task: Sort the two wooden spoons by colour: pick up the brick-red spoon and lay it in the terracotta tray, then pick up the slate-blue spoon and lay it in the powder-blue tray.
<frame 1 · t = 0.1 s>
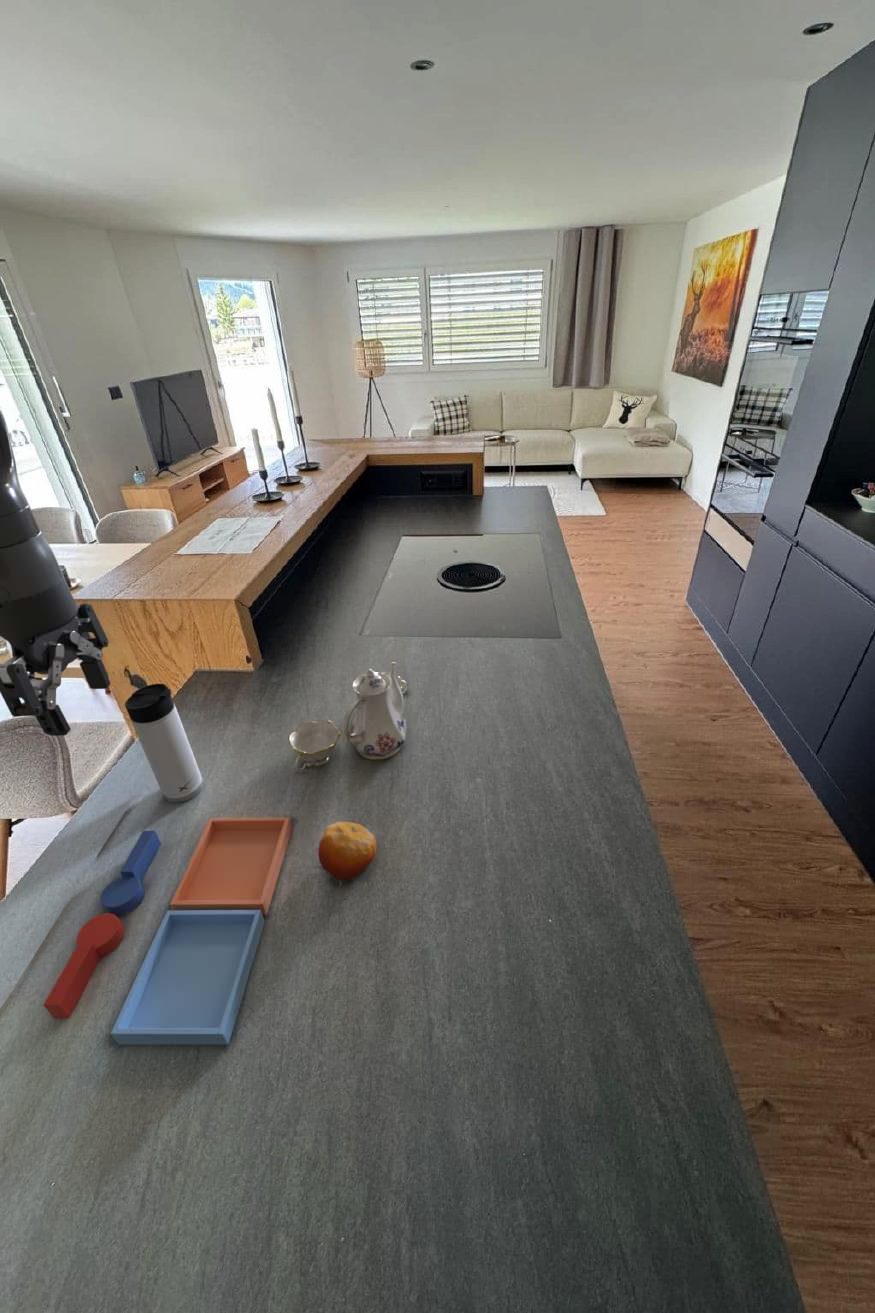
hand: (81, 709, 64), 29 cm above the counter, tool pointing down, fingers open, 8 cm apart
red spoon: (90, 965, 68), on the counter
blue tray: (198, 977, 66), on the counter
travel mug: (185, 790, 92), on the counter
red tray: (238, 869, 79), on the counter
fruit: (350, 865, 79), on the counter
chinaware: (367, 738, 101), on the counter
blue spoon: (136, 879, 78), on the counter
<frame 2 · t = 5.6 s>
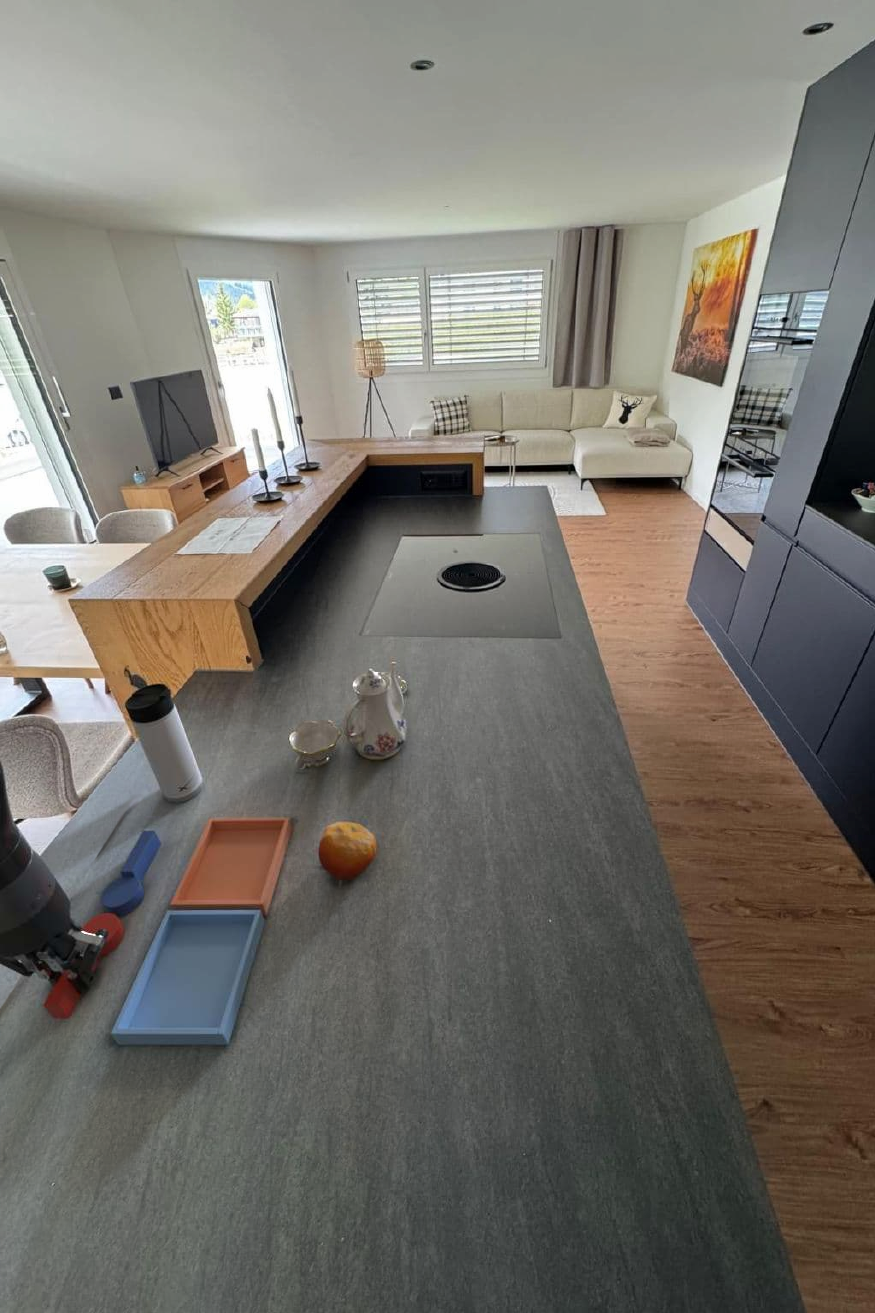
hand: (77, 985, 66), 0 cm above the counter, tool pointing down, fingers closed on red spoon
red spoon: (90, 965, 68), on the counter, touching gripper
everything else where it was.
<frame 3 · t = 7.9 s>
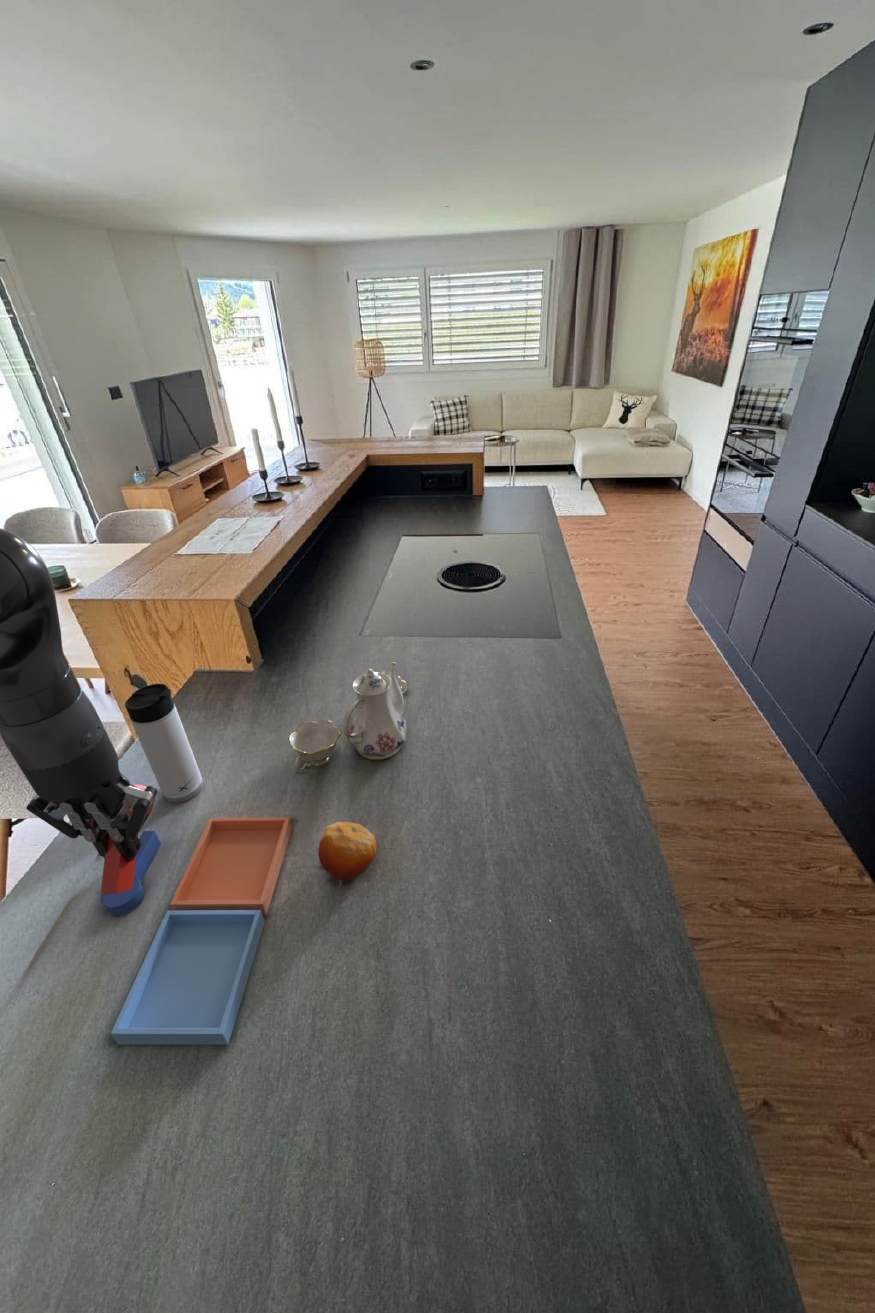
hand: (123, 855, 63), 15 cm above the counter, tool pointing down, fingers closed on red spoon
red spoon: (131, 833, 64), point 16 cm above the counter, tilted 44°, touching gripper
everything else where it was.
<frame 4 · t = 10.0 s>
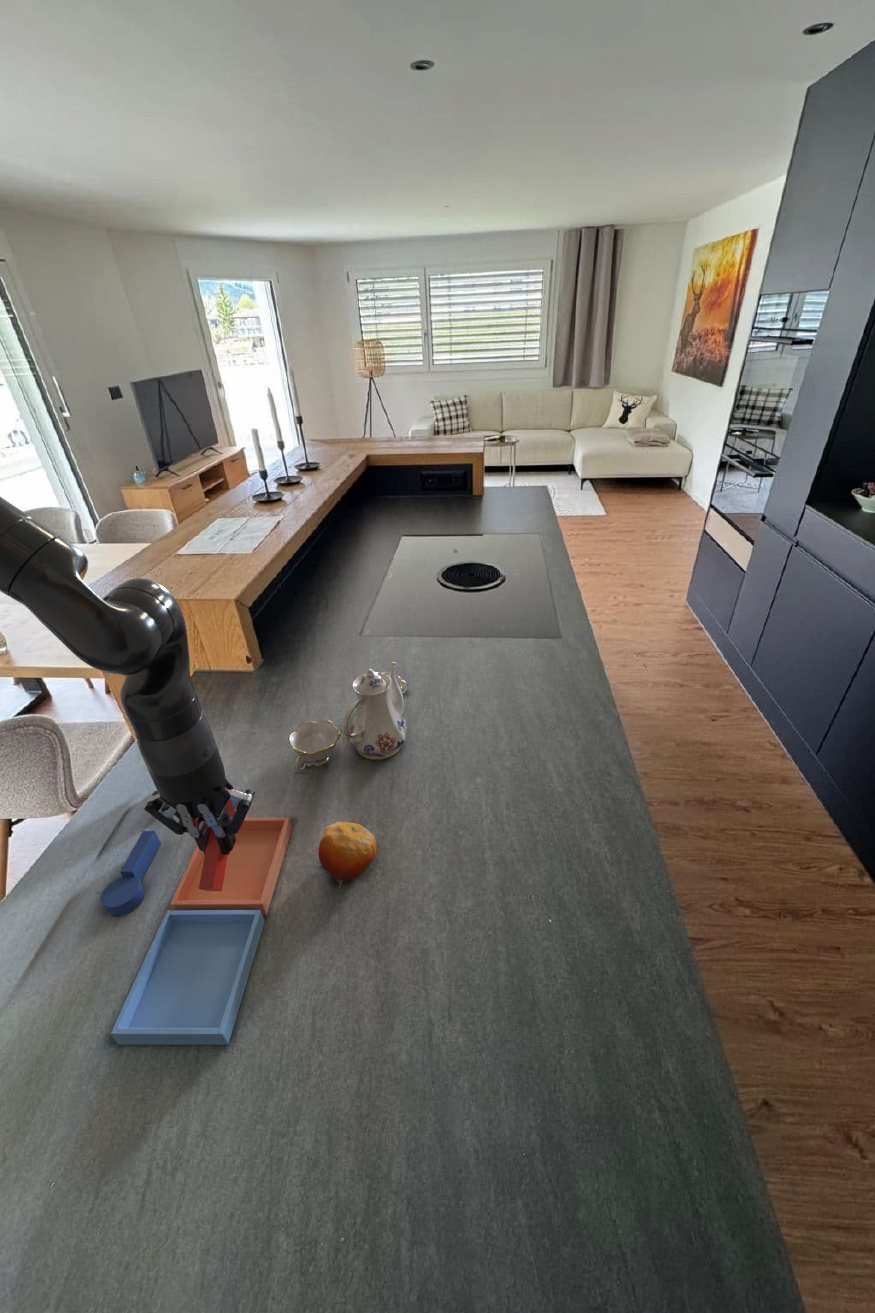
hand: (219, 849, 73), 7 cm above the counter, tool pointing down, fingers closed on red spoon
red spoon: (223, 842, 74), point 7 cm above the counter, tilted 29°, touching gripper
everything else where it was.
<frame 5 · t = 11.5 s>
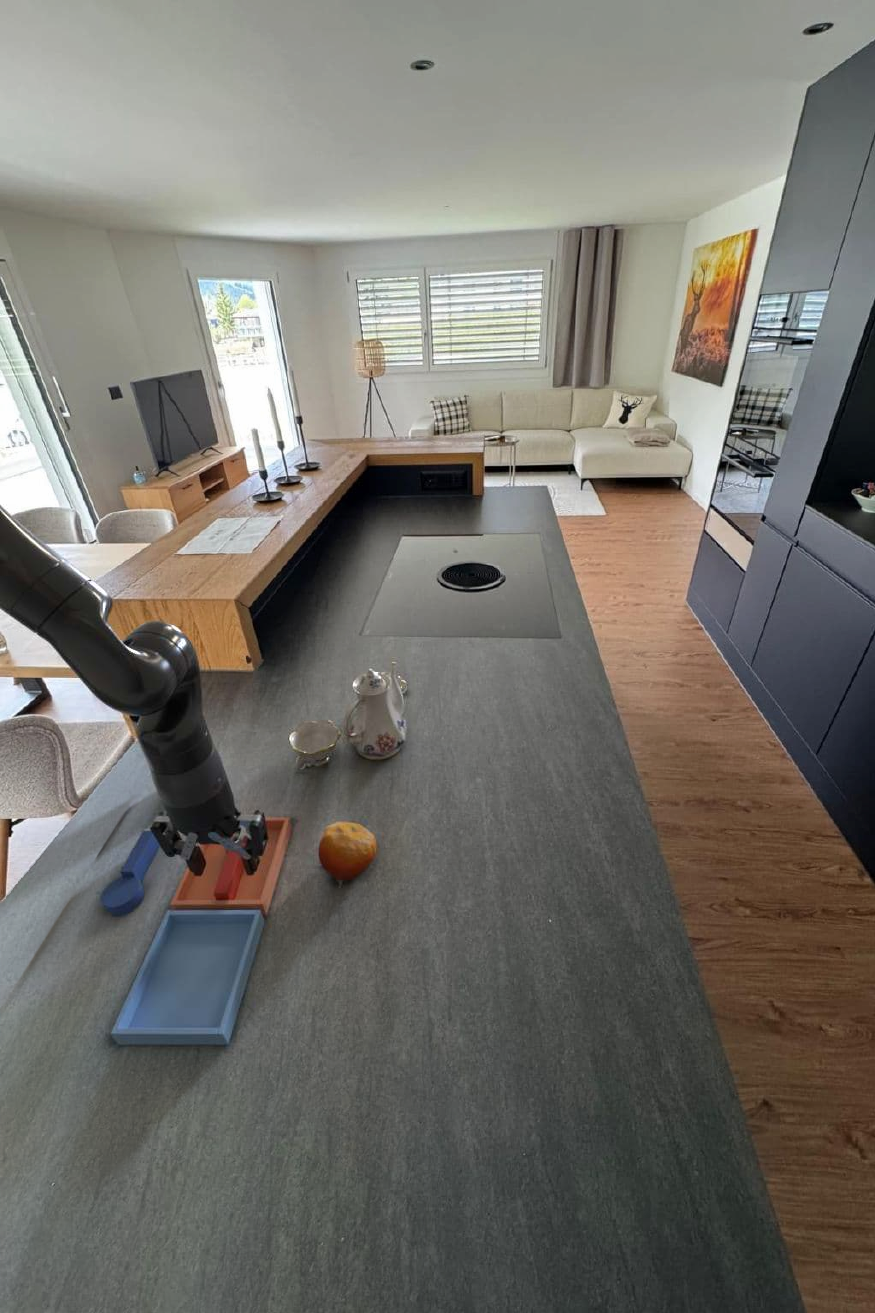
hand: (226, 870, 75), 3 cm above the counter, tool pointing down, fingers open, 6 cm apart
red spoon: (238, 867, 78), resting on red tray
everything else where it was.
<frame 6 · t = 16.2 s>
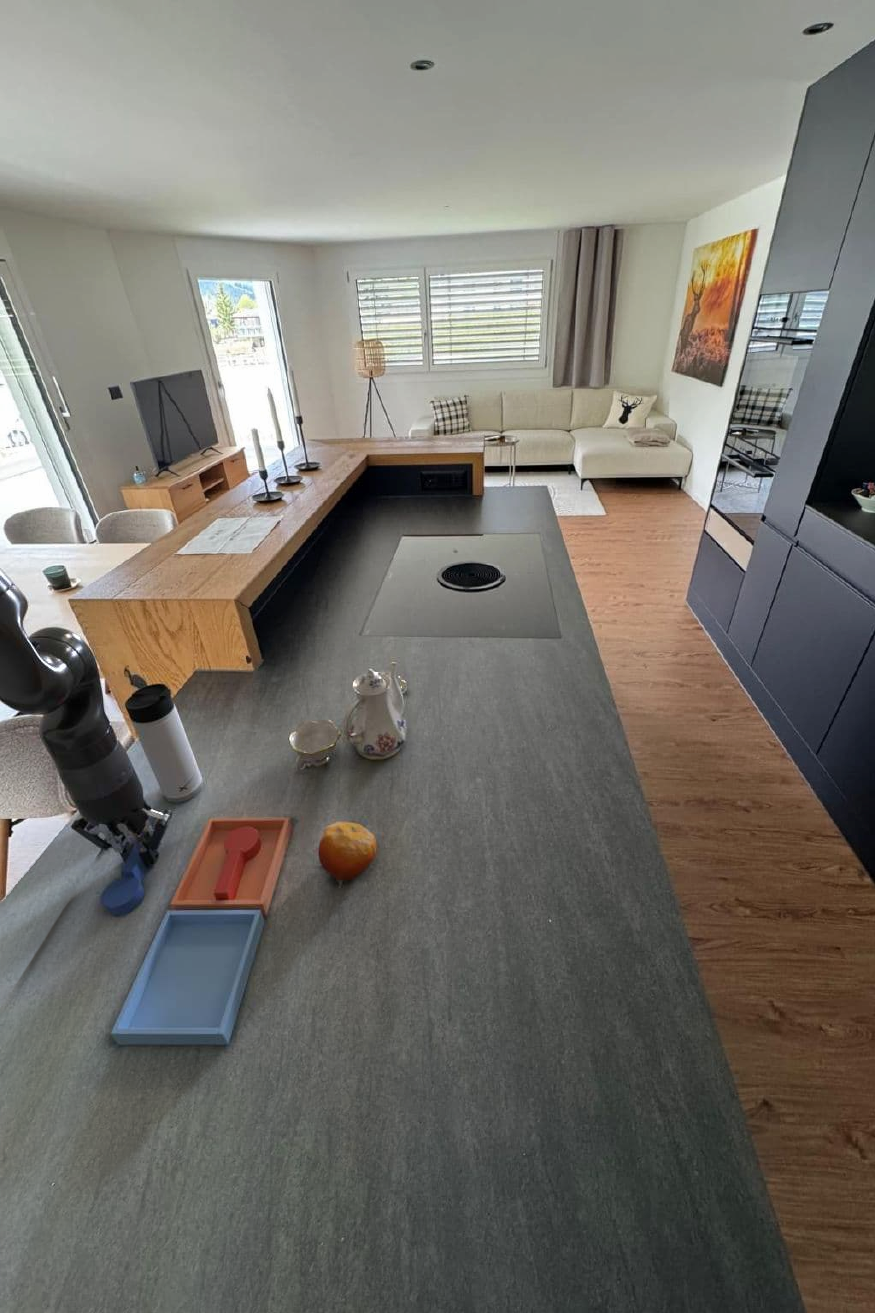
hand: (144, 862, 80), 0 cm above the counter, tool pointing down, fingers closed on blue spoon, 2 cm apart
blue spoon: (136, 879, 78), on the counter, touching gripper
everything else where it was.
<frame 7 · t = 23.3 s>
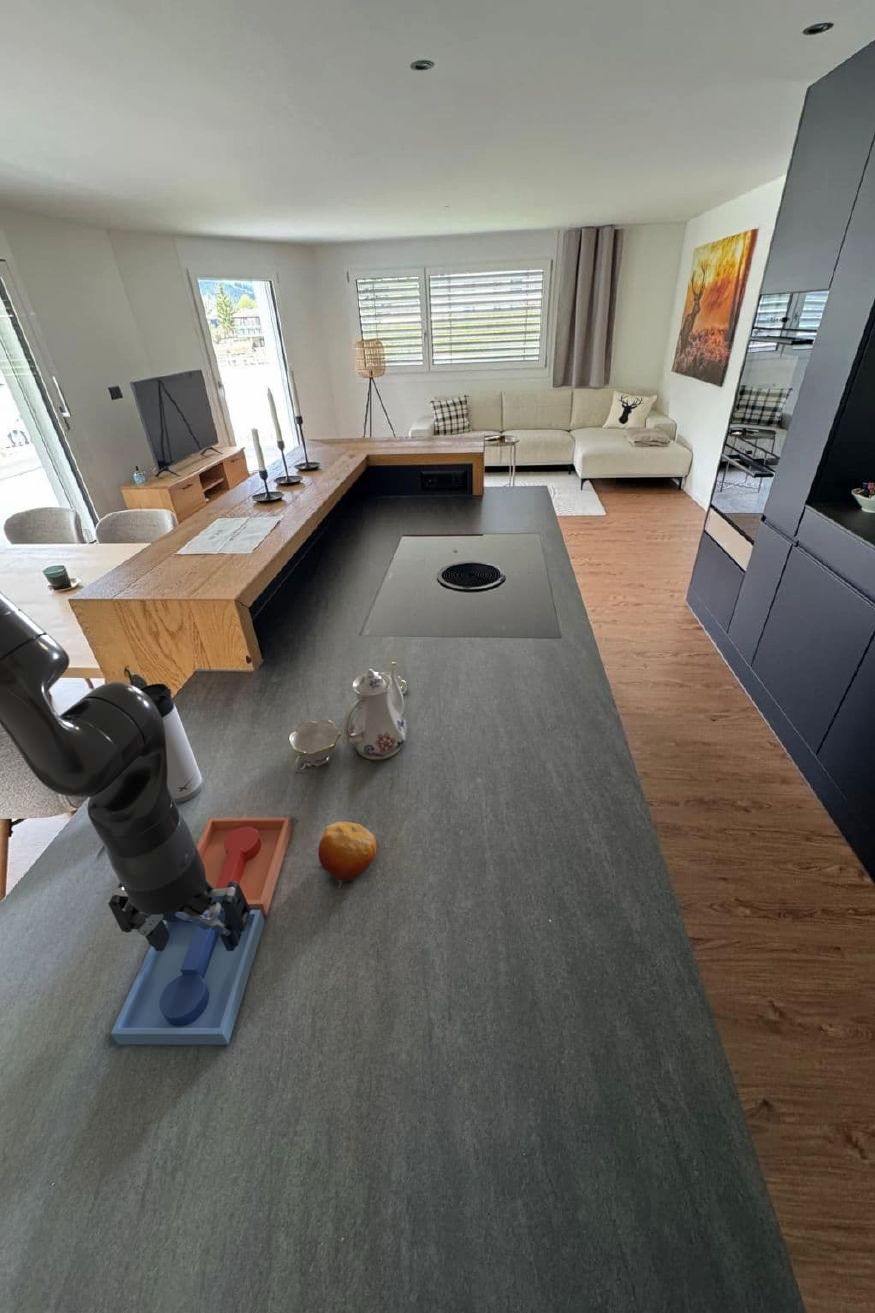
hand: (198, 943, 67), 3 cm above the counter, tool pointing down, fingers open, 8 cm apart
blue spoon: (197, 975, 66), resting on blue tray
everything else where it was.
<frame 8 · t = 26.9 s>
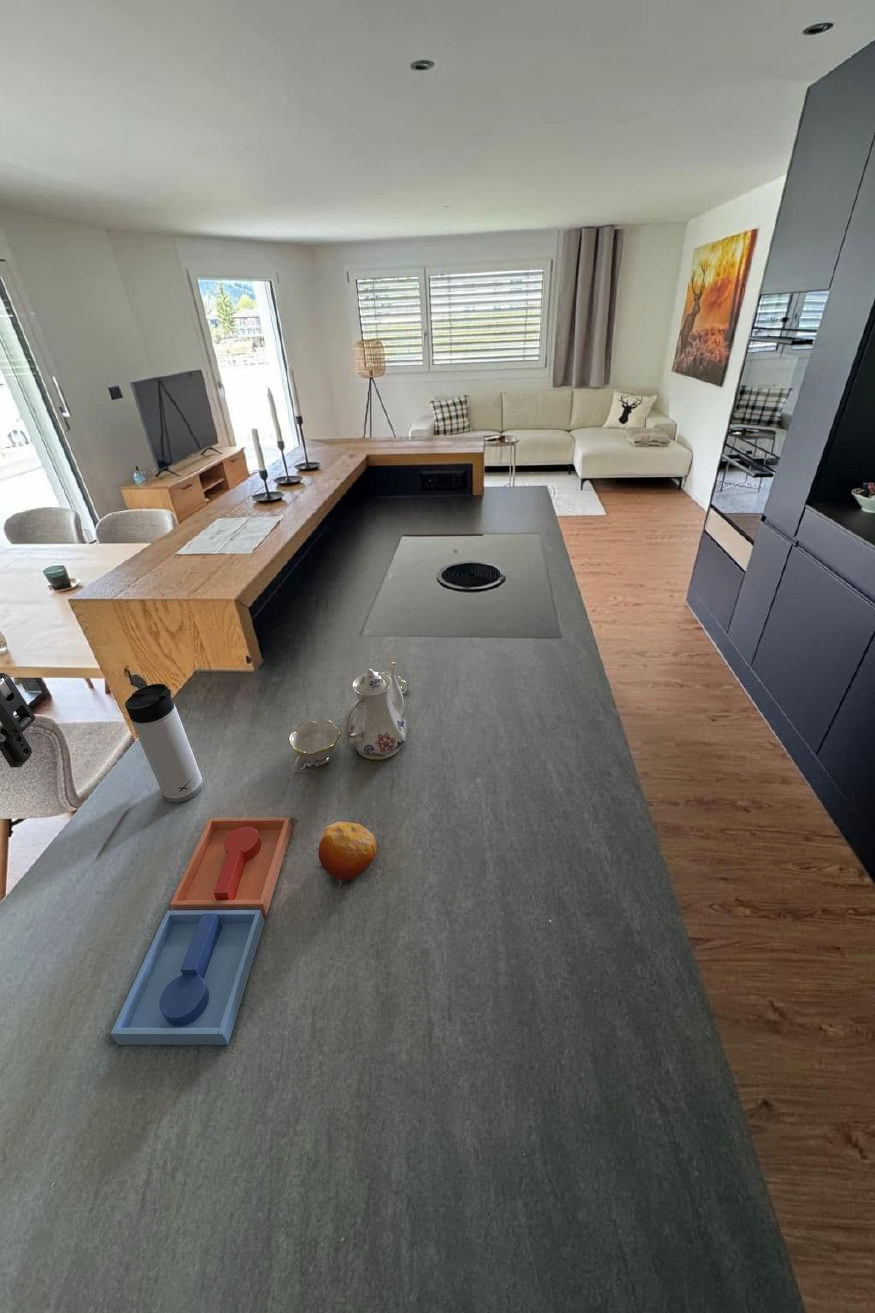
nothing on the counter moved.
at the end: red spoon inside the target area in the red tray (0.3 cm from its centre), point 0.5 cm above the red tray's base; blue spoon inside the target area in the blue tray (0.1 cm from its centre), point 0.5 cm above the blue tray's base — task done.
